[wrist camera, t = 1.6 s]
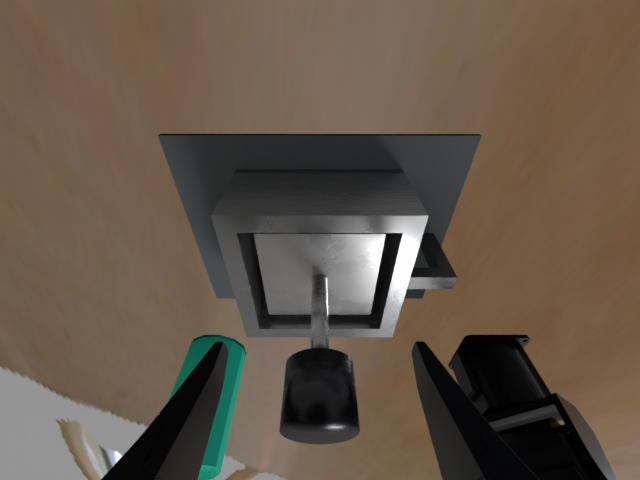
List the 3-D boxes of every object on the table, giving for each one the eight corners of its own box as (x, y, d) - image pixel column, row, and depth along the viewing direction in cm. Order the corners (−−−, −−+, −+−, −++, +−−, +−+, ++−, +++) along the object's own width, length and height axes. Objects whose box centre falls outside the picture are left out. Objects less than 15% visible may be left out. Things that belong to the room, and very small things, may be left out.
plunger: (383, 227, 15) (434, 392, 8) (368, 307, 19) (394, 457, 12) (255, 227, 15) (204, 392, 8) (270, 307, 19) (244, 457, 12)
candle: (188, 330, 28) (121, 489, 18) (248, 338, 28) (214, 494, 19) (190, 359, 31) (135, 505, 22) (244, 366, 32) (213, 508, 23)
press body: (451, 169, 16) (491, 215, 13) (414, 283, 23) (434, 337, 19) (236, 169, 16) (210, 215, 13) (259, 283, 23) (246, 337, 19)
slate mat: (479, 134, 15) (481, 135, 15) (421, 295, 24) (422, 298, 24) (160, 133, 15) (157, 135, 15) (217, 295, 24) (216, 298, 24)
